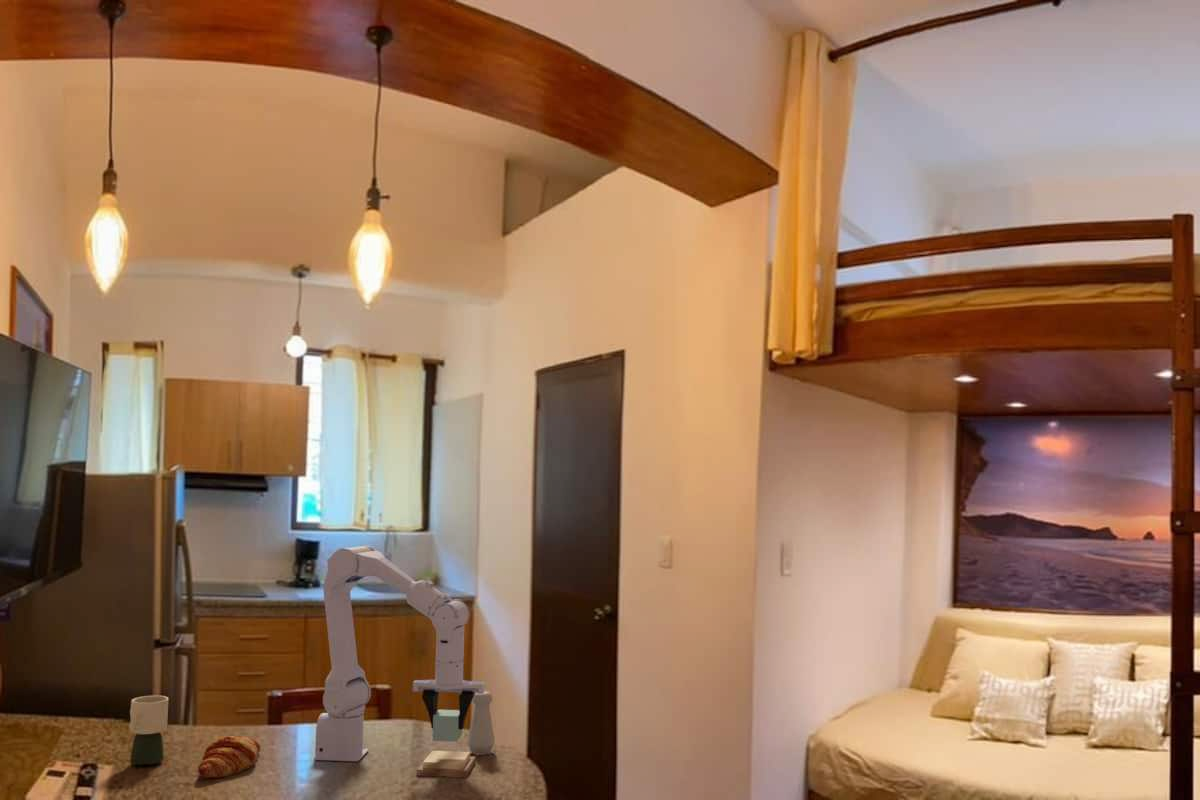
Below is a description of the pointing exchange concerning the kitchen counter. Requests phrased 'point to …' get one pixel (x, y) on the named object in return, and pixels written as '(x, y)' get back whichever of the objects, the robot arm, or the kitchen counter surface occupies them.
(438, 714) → the teal block
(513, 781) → the kitchen counter surface
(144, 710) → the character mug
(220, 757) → the croissant
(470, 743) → the salt shaker
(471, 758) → the wooden base
